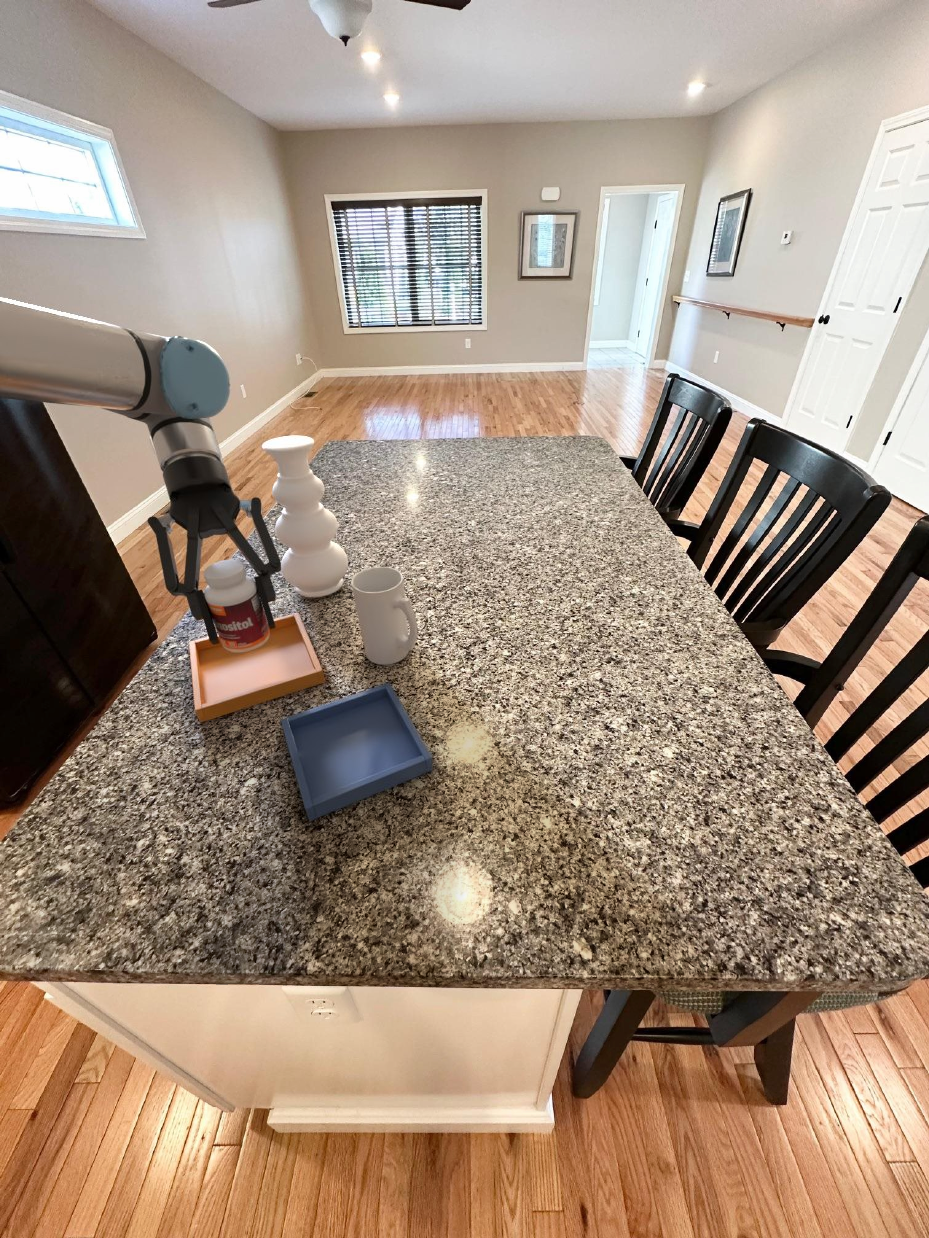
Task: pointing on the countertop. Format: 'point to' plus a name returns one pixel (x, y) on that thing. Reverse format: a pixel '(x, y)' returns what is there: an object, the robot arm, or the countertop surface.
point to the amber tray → (253, 670)
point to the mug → (384, 614)
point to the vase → (305, 521)
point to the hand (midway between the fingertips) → (244, 633)
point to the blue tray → (353, 749)
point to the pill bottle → (235, 606)
